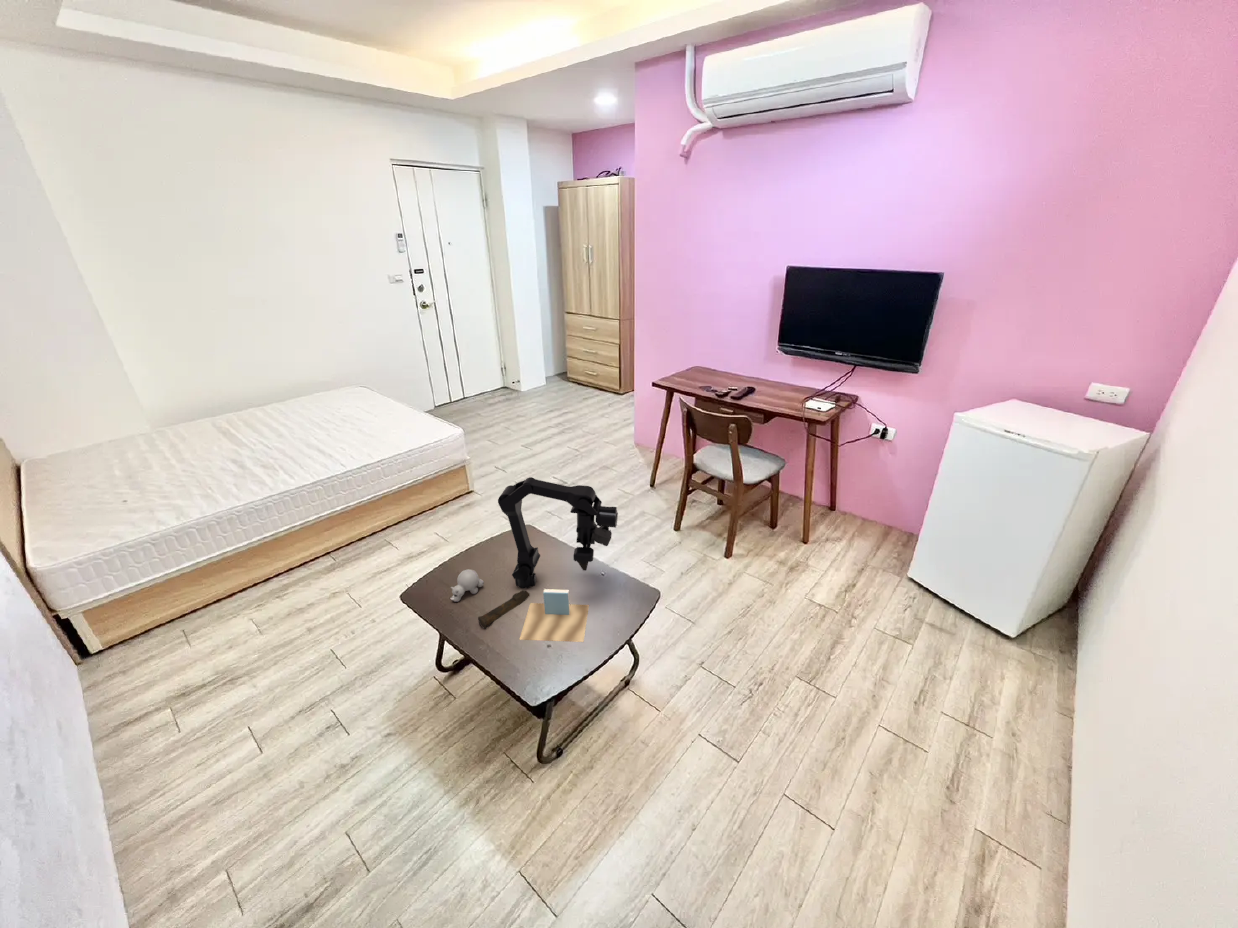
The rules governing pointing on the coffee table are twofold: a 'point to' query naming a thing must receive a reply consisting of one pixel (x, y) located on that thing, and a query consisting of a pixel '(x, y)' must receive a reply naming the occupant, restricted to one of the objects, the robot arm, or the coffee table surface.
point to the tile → (556, 602)
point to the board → (555, 624)
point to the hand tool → (503, 608)
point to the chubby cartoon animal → (466, 584)
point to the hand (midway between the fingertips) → (586, 561)
